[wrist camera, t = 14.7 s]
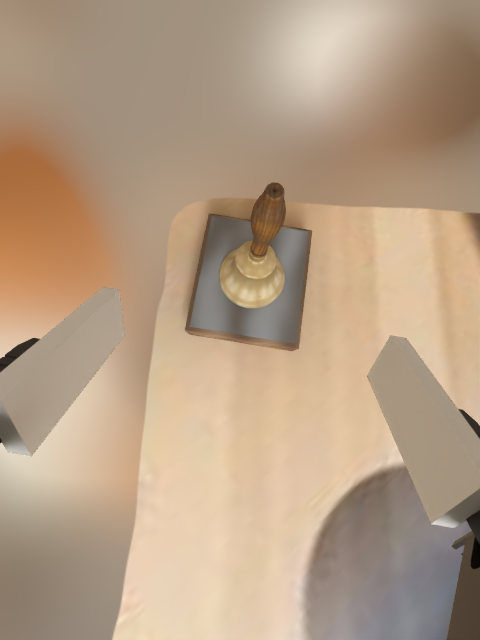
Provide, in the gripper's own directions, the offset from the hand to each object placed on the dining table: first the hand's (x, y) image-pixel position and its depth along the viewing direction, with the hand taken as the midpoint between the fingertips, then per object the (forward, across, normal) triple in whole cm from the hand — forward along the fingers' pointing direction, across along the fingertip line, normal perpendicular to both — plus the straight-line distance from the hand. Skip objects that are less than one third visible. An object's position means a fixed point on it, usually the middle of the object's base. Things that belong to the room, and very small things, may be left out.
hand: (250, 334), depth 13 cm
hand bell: (+20, 0, -6) cm, 21 cm away
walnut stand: (+23, 0, -9) cm, 25 cm away
